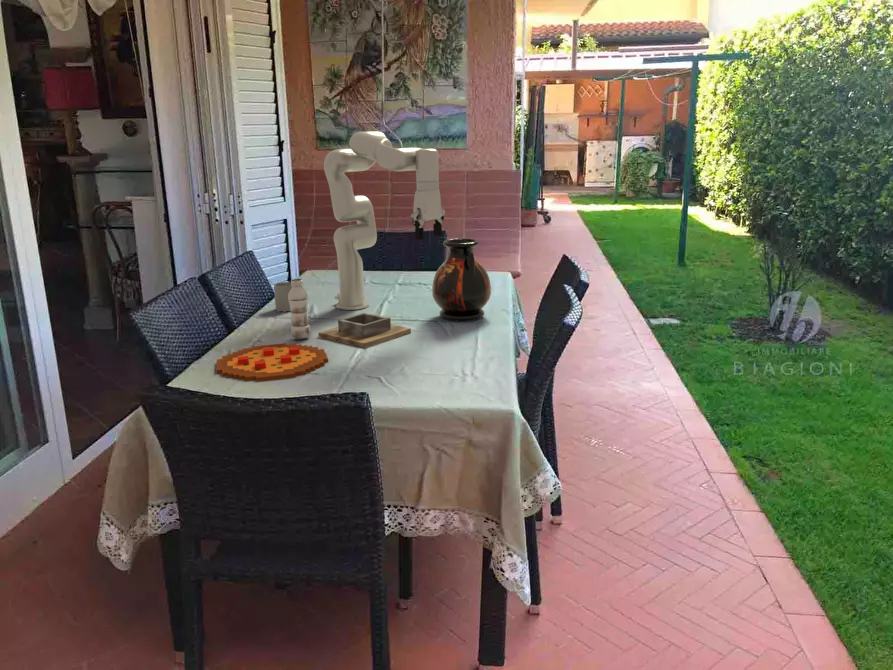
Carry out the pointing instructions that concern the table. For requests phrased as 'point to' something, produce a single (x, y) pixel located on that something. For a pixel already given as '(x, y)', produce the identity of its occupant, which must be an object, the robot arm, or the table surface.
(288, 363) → the pizza
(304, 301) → the plastic bottle
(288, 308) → the cup
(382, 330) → the collar board
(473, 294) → the amphora vase
